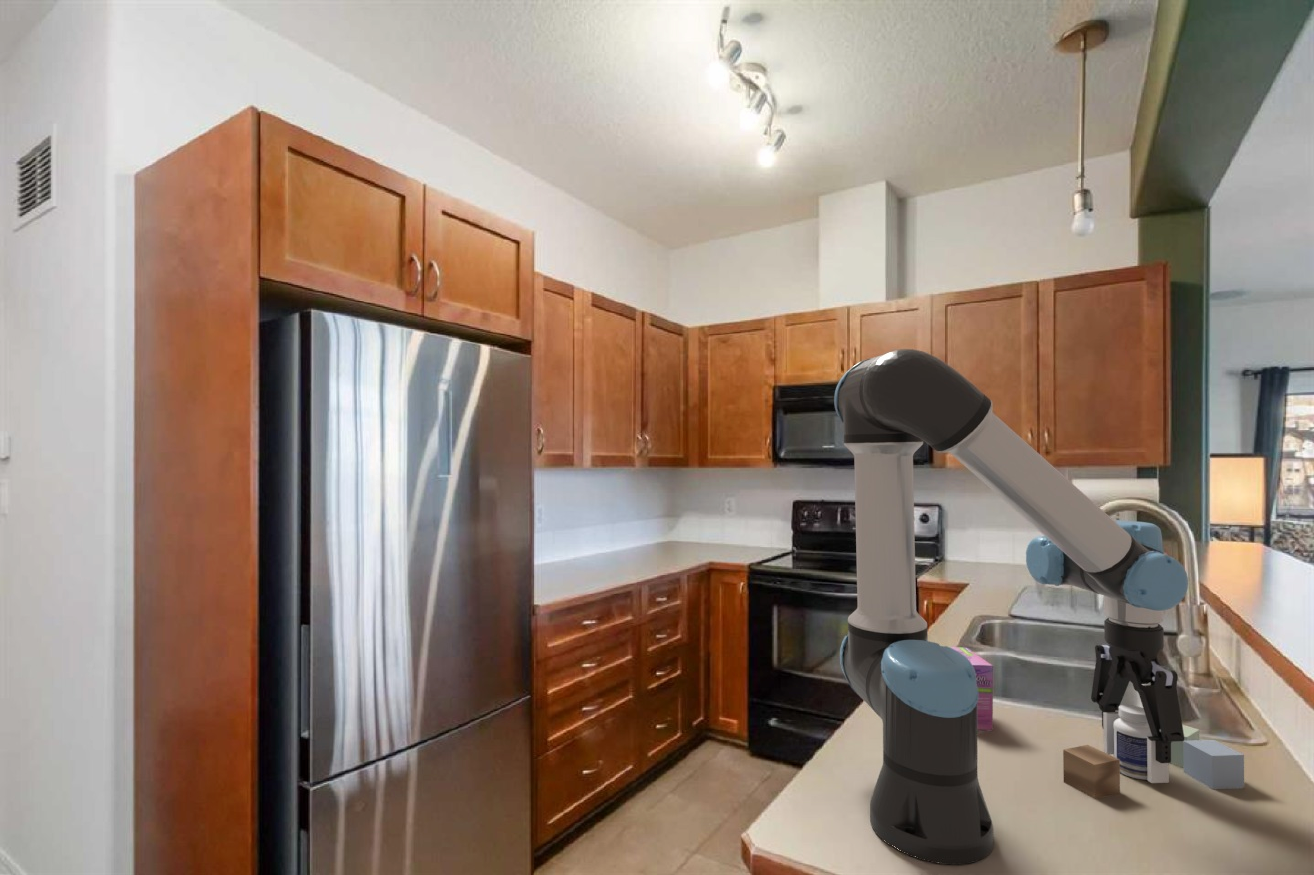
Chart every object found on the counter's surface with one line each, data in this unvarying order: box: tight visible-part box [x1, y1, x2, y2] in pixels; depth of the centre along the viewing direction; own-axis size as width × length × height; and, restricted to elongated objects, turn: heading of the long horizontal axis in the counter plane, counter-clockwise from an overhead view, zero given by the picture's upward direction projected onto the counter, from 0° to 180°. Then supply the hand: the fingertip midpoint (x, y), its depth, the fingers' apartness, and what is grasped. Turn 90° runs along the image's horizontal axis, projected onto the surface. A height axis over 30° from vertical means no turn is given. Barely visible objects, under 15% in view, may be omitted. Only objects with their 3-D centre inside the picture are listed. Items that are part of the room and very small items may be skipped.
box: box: [949, 646, 994, 732], centre depth 123 cm, size 10×6×12 cm, turn 179°
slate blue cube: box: [1182, 739, 1245, 790], centre depth 100 cm, size 5×5×5 cm
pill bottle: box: [1113, 704, 1152, 781], centre depth 103 cm, size 5×5×10 cm
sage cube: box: [1159, 724, 1200, 768], centre depth 107 cm, size 5×5×5 cm
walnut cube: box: [1062, 744, 1121, 800], centre depth 98 cm, size 5×5×5 cm
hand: (1134, 766), depth 103 cm, fingers open, 8 cm apart
